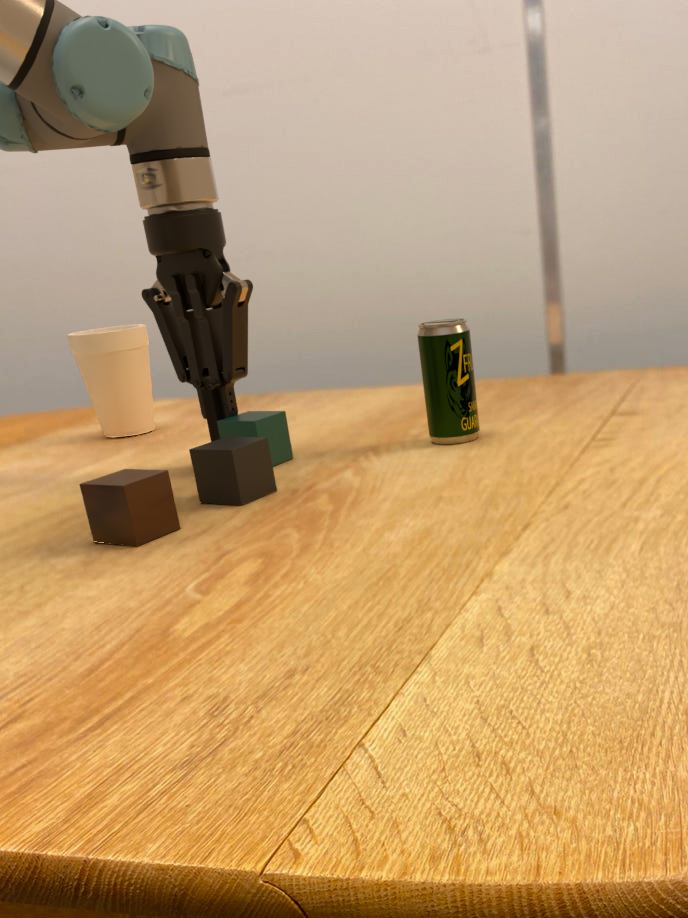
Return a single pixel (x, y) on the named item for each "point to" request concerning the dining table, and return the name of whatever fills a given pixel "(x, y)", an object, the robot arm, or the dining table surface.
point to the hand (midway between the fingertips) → (226, 449)
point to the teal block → (261, 431)
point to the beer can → (448, 381)
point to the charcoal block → (233, 470)
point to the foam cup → (117, 376)
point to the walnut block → (130, 506)
